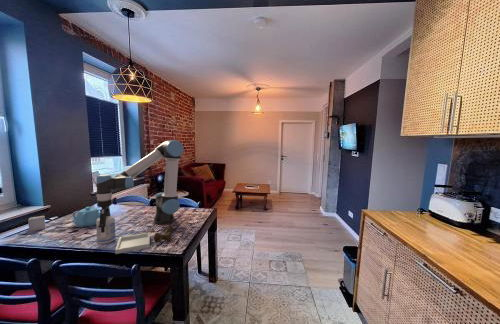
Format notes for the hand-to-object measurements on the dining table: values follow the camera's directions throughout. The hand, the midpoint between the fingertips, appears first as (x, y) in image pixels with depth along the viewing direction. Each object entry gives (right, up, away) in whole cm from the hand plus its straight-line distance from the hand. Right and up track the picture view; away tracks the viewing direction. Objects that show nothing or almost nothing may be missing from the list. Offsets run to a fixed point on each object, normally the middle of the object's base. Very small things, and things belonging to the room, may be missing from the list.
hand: (105, 232), depth 127 cm
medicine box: (-60, -3, +16) cm, 62 cm away
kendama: (+35, -6, +5) cm, 36 cm away
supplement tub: (0, -6, +1) cm, 6 cm away
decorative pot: (-31, -3, +25) cm, 40 cm away
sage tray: (+20, -6, -3) cm, 21 cm away
